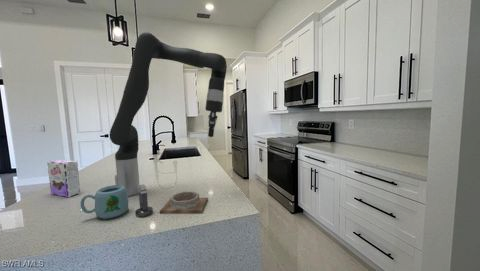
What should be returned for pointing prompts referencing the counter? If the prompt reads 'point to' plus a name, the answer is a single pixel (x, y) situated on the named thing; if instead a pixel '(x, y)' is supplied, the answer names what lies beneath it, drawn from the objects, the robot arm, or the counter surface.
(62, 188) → the candy box
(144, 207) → the grey post on base
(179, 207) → the stand
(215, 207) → the counter surface
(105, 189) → the mug
